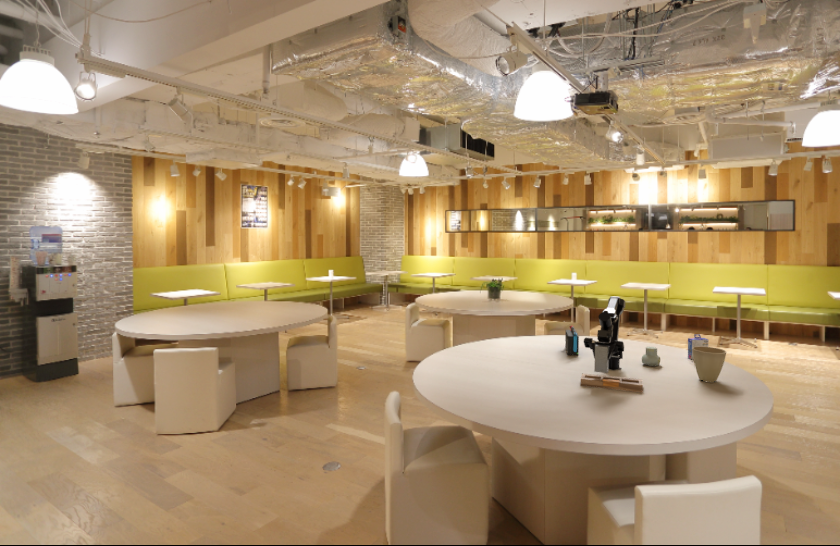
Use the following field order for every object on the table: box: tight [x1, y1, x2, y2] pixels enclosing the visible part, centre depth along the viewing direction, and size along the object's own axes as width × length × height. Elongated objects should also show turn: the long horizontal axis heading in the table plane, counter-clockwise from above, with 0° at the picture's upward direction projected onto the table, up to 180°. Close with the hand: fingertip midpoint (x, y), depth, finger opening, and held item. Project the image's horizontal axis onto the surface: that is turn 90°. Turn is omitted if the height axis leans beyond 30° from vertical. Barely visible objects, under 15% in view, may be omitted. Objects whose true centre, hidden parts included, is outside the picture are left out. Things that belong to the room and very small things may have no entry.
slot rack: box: [580, 373, 644, 393], centre depth 242 cm, size 10×28×4 cm, turn 67°
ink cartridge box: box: [687, 333, 709, 361], centre depth 292 cm, size 10×6×14 cm, turn 89°
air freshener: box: [641, 346, 661, 367], centre depth 279 cm, size 11×8×10 cm
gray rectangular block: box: [594, 345, 609, 374], centre depth 243 cm, size 3×6×13 cm, turn 59°
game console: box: [564, 325, 580, 356], centre depth 311 cm, size 28×6×15 cm, turn 168°
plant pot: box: [693, 346, 727, 383], centre depth 250 cm, size 15×15×16 cm
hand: (601, 358), depth 242 cm, fingers closed on gray rectangular block, 6 cm apart
